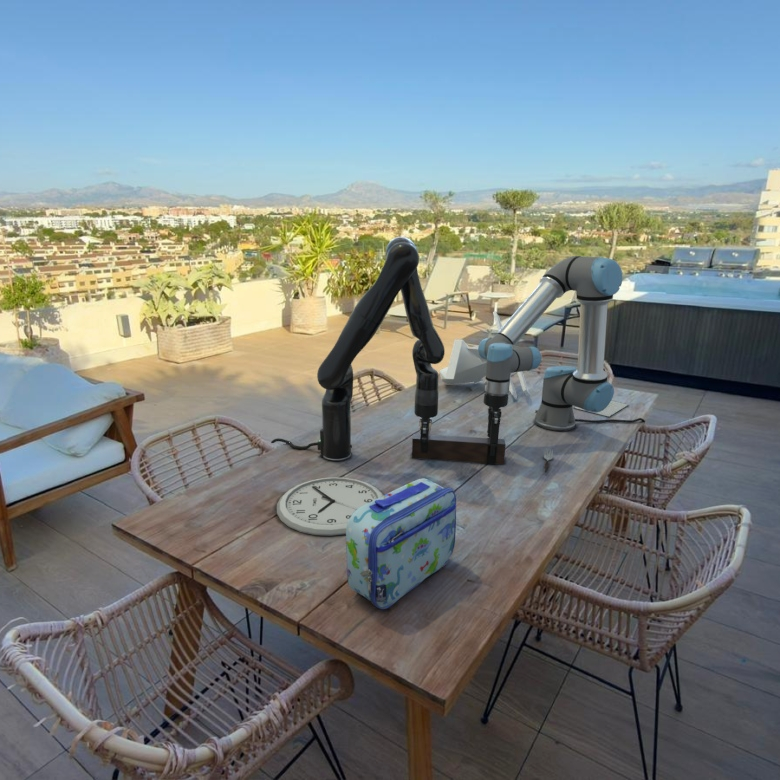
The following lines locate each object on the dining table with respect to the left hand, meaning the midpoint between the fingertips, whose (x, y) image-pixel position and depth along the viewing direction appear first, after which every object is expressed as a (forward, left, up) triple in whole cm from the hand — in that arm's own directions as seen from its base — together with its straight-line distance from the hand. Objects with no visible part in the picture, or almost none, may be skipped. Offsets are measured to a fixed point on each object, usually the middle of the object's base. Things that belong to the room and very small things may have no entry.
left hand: (424, 449), depth 174 cm
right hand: (+21, +5, -2) cm, 22 cm away
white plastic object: (+6, +78, -3) cm, 78 cm away
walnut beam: (+11, +2, -3) cm, 11 cm away
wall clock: (-15, -40, -3) cm, 43 cm away
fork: (+39, +8, -3) cm, 40 cm away
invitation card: (+58, +77, -3) cm, 97 cm away
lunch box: (+13, -64, -3) cm, 65 cm away
